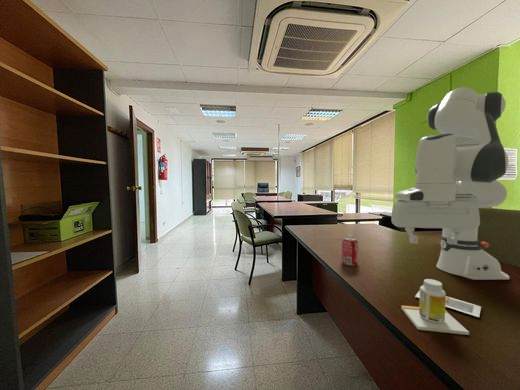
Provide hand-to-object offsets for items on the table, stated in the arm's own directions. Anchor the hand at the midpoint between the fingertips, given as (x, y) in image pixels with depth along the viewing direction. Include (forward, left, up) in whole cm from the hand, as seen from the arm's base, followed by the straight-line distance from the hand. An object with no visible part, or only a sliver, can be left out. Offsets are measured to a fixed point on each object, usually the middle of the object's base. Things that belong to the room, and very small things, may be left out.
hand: (432, 243), depth 61 cm
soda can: (+13, -39, -22) cm, 46 cm away
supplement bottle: (0, +2, -21) cm, 21 cm away
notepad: (0, +2, -21) cm, 21 cm away
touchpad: (-9, -9, -22) cm, 26 cm away
